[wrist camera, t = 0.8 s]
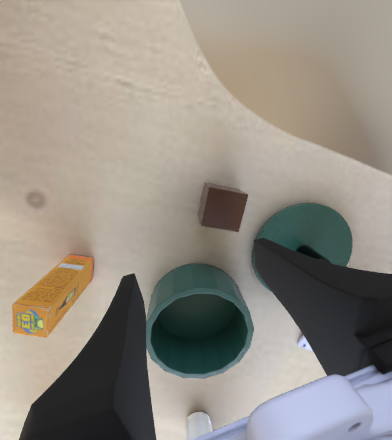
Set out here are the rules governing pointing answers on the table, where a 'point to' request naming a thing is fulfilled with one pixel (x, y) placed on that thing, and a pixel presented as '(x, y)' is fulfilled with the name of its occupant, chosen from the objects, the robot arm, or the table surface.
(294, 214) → the lid
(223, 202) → the block
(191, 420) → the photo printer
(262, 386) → the table surface
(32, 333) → the supplement box
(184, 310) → the tin
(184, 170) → the table surface
